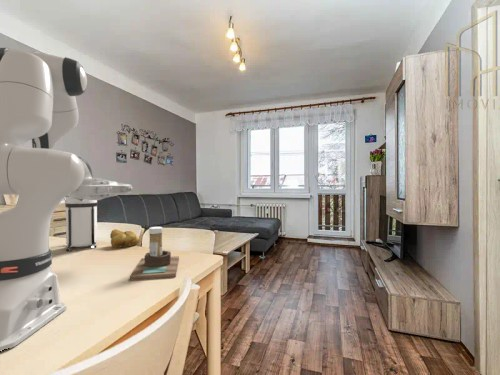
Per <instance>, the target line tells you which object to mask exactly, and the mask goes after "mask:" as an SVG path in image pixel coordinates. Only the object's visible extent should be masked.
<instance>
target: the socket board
mask: <svg viewBox="0 0 500 375" xmlns="http://www.w3.org/2000/svg"><path fill="white" fill-rule="evenodd" d="M171 254H172V253H171V251H169V250H162V256H158V257H152V256H150V251H148V252H147V253H145V255H144V257H142V258H141V259H140V260H139V261H138V263H137V264H136V266H135V268H134V269H133V271H132V273H131V274H130V275H129V281H135V280H136V281H139V280H150V279H164V278H167V279H168V278H176V277H177V273H178V265H179V261H180V260H179V259H180V257H179V256H178V255H176V256H172V255H171Z"/></svg>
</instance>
